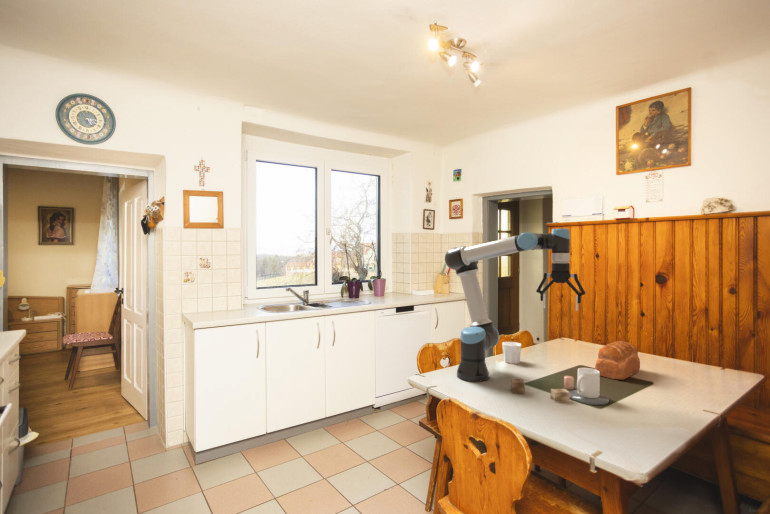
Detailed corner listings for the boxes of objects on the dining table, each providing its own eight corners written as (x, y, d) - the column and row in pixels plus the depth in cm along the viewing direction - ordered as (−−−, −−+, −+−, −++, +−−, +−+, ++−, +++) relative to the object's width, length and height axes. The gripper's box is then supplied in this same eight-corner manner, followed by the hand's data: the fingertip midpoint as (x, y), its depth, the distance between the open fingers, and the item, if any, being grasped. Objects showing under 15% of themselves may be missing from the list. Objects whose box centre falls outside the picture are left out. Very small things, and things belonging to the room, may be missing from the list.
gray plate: (566, 400, 159) (566, 398, 159) (569, 389, 172) (569, 387, 172) (609, 408, 152) (609, 406, 152) (608, 395, 165) (608, 393, 165)
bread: (592, 375, 192) (592, 344, 192) (612, 364, 210) (613, 336, 209) (623, 382, 182) (624, 349, 182) (642, 371, 199) (642, 340, 199)
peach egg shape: (563, 388, 173) (563, 377, 173) (564, 386, 176) (564, 375, 176) (573, 390, 171) (573, 379, 171) (574, 387, 174) (574, 376, 174)
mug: (586, 402, 156) (587, 376, 155) (567, 395, 163) (568, 370, 162) (603, 396, 162) (603, 371, 162) (584, 390, 169) (584, 366, 169)
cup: (523, 364, 210) (523, 346, 210) (505, 364, 210) (505, 346, 210) (517, 359, 220) (517, 341, 220) (499, 359, 220) (500, 341, 220)
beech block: (555, 402, 158) (555, 392, 158) (550, 398, 162) (550, 389, 162) (569, 402, 158) (569, 392, 158) (564, 398, 162) (565, 388, 162)
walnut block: (512, 393, 167) (512, 382, 167) (510, 389, 172) (510, 378, 172) (524, 394, 166) (524, 382, 166) (522, 390, 171) (522, 379, 171)
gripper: (530, 262, 179) (529, 308, 180) (591, 263, 167) (590, 312, 167) (532, 262, 186) (532, 306, 186) (591, 262, 174) (591, 310, 174)
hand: (560, 309), depth 177 cm, fingers open, 13 cm apart
